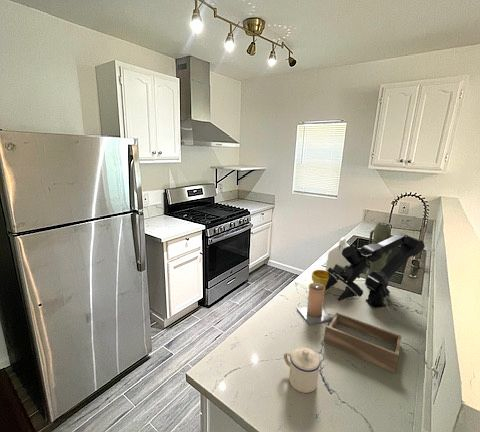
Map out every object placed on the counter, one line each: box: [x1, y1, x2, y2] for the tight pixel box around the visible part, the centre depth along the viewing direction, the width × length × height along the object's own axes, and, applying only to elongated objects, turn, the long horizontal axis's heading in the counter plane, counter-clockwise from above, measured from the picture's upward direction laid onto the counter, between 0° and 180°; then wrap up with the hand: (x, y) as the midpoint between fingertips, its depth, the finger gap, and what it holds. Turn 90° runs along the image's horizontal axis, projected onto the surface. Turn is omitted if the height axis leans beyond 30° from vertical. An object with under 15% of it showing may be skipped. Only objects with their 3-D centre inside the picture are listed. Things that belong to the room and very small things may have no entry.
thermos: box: [364, 222, 394, 287], centre depth 139 cm, size 9×12×35 cm
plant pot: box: [311, 269, 329, 295], centre depth 135 cm, size 10×10×10 cm
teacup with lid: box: [283, 346, 321, 394], centre depth 83 cm, size 12×9×12 cm
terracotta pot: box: [307, 282, 325, 318], centre depth 115 cm, size 7×7×13 cm
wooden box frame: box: [323, 312, 402, 374], centre depth 99 cm, size 16×24×7 cm, turn 55°
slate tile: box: [296, 305, 333, 326], centre depth 116 cm, size 11×11×1 cm
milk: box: [325, 236, 350, 291], centre depth 142 cm, size 12×12×26 cm
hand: (331, 294), depth 116 cm, fingers open, 9 cm apart
